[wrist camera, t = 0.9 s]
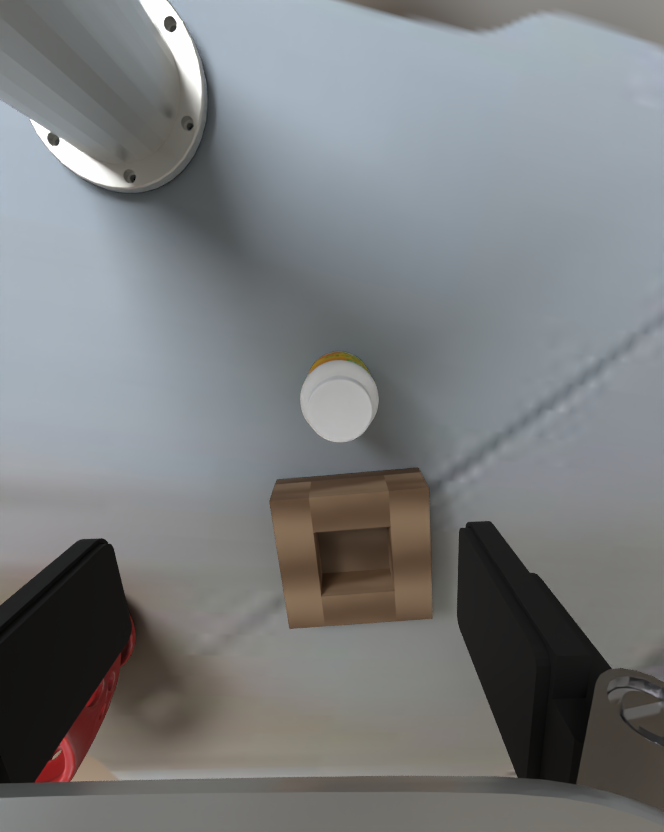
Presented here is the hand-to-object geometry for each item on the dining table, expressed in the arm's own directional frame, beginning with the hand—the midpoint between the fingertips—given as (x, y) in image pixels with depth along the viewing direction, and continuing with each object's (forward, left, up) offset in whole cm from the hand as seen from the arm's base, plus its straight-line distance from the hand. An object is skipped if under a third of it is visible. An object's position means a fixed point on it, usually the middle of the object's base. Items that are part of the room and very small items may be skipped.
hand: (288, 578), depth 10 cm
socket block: (+14, +2, -23) cm, 27 cm away
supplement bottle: (-1, +2, -23) cm, 23 cm away
